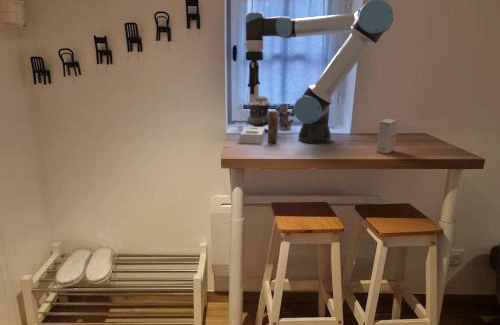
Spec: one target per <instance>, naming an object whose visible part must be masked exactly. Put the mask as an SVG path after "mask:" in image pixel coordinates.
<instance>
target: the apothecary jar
mask: <svg viewBox="0 0 500 325" xmlns="http://www.w3.org/2000/svg"><path fill="white" fill-rule="evenodd" d="M247 106H248V108H249V116H248V118H247V123H248V124H249V125H251V126H252V127H266V126H268V112H269V108H270V107H271V102H270V101H269V100H268V96H264V95H259V99H256V102H249V101H248V102H247ZM265 133H268V128H265Z"/></svg>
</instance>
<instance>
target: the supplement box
mask: <svg viewBox="0 0 500 325" xmlns="http://www.w3.org/2000/svg"><path fill="white" fill-rule="evenodd" d="M398 121H399V120H398V119H389V118H385V119H382V120H379V123H378V124H379V126H378V134H377V145H376V153H378V154H384V155H389V154H391V153H392V152H394V151H395V145H396V138H397V137H396V136H397V129H398Z"/></svg>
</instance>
